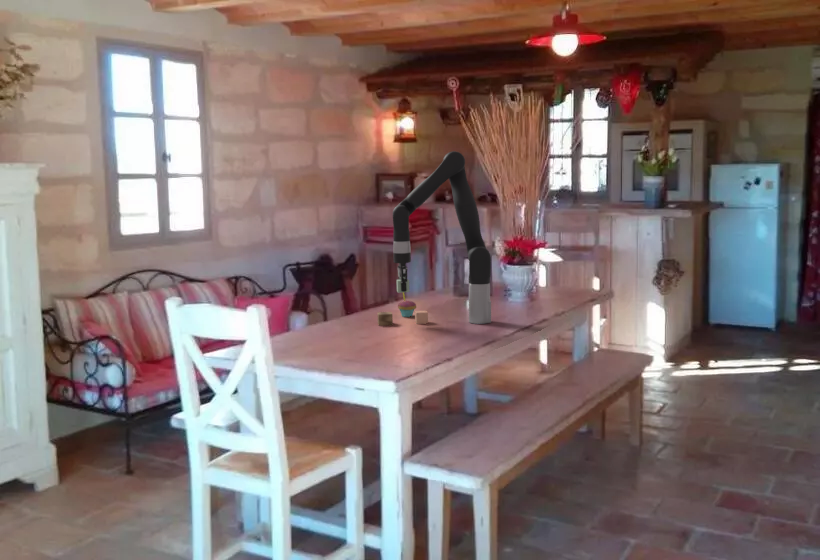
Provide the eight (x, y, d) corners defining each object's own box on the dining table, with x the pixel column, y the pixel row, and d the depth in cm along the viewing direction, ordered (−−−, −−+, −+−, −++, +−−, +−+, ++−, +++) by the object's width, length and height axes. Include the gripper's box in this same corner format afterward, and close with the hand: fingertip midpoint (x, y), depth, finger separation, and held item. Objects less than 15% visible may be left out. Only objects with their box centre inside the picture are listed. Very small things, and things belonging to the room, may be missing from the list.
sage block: (408, 290, 377) (407, 279, 376) (409, 292, 372) (409, 280, 371) (396, 291, 376) (396, 279, 376) (398, 292, 371) (397, 281, 371)
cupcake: (395, 317, 392) (394, 291, 390) (402, 314, 400) (401, 288, 398) (412, 318, 389) (412, 291, 387) (419, 314, 397) (419, 289, 395)
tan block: (426, 321, 380) (426, 310, 379) (427, 323, 375) (427, 312, 374) (415, 322, 379) (414, 311, 379) (416, 324, 374) (416, 312, 374)
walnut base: (391, 323, 378) (391, 311, 378) (392, 325, 372) (392, 314, 372) (377, 323, 378) (377, 312, 377) (378, 326, 372) (378, 314, 371)
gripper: (412, 252, 365) (413, 292, 367) (408, 249, 379) (409, 287, 382) (395, 253, 364) (396, 293, 367) (391, 250, 378) (392, 288, 381)
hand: (403, 290), depth 374 cm, fingers closed on sage block, 5 cm apart
